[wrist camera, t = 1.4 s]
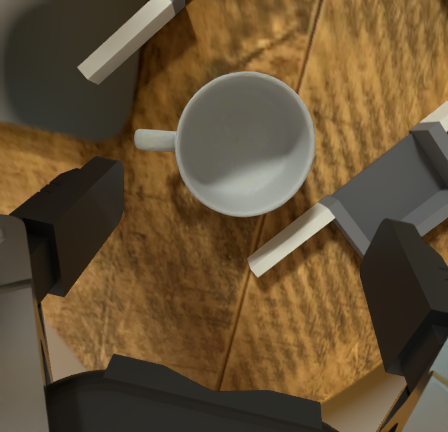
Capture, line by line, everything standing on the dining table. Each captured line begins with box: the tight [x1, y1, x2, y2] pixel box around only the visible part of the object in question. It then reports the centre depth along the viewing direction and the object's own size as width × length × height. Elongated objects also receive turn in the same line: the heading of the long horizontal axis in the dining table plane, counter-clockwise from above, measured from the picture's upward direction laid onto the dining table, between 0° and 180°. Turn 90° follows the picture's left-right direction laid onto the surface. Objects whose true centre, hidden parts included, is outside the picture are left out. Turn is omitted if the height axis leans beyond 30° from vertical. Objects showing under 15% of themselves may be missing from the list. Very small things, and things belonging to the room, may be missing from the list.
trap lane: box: [77, 0, 448, 277], centre depth 30 cm, size 31×38×4 cm
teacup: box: [134, 71, 315, 217], centre depth 29 cm, size 14×11×8 cm
